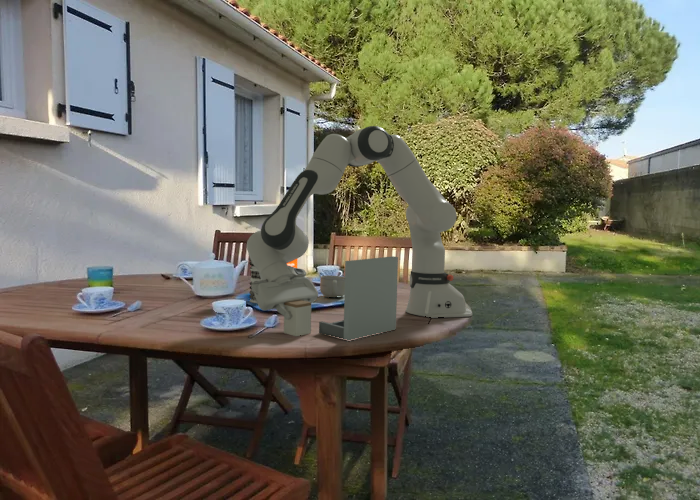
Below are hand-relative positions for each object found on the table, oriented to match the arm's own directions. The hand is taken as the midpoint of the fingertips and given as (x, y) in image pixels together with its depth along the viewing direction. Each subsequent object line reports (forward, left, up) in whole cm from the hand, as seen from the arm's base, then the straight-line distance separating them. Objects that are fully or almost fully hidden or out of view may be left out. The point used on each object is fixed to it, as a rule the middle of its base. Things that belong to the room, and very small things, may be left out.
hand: (298, 316), depth 161 cm
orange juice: (+6, -67, -5) cm, 68 cm away
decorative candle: (+14, -47, -5) cm, 50 cm away
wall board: (-17, -2, -5) cm, 18 cm away
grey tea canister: (0, 0, -5) cm, 5 cm away
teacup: (-13, -55, -5) cm, 57 cm away
